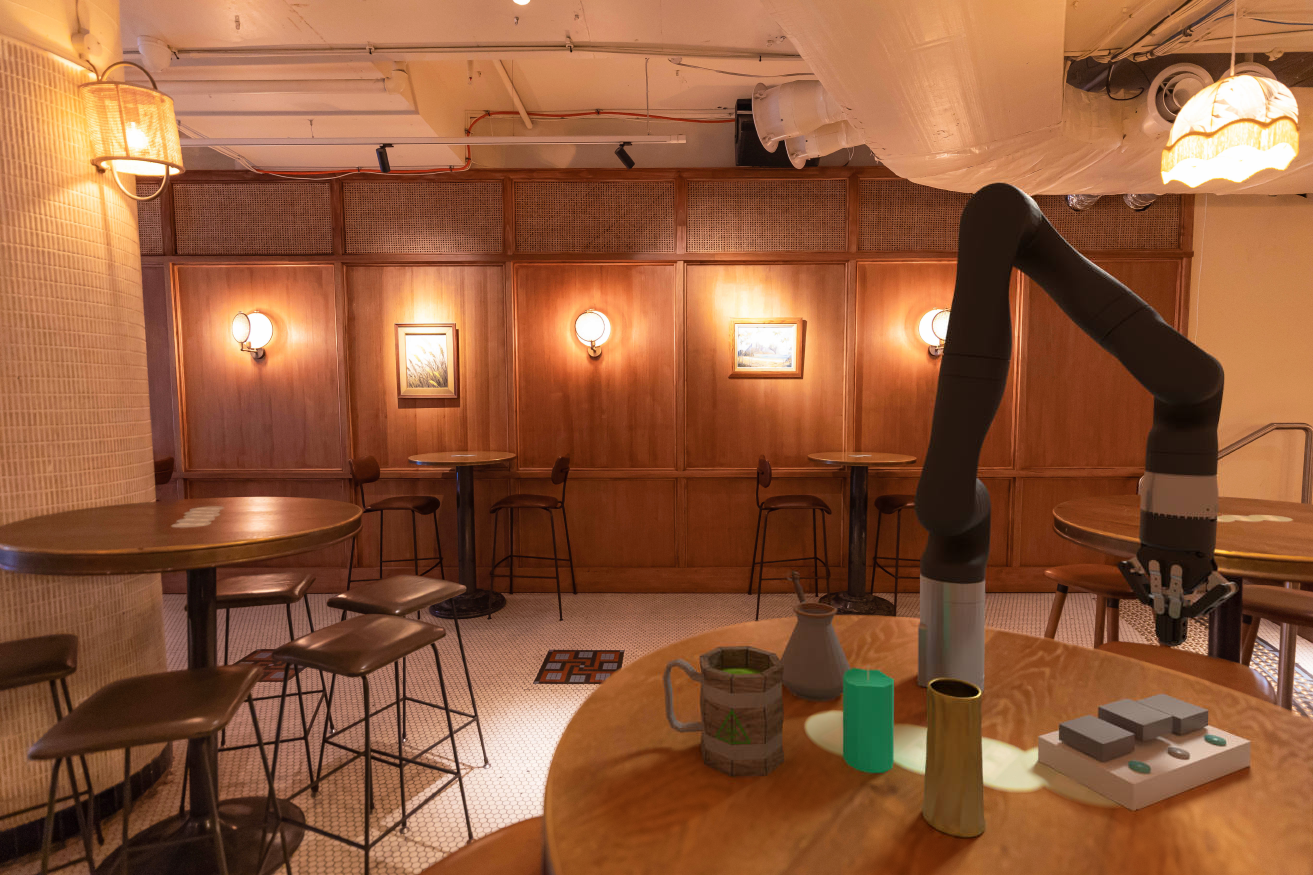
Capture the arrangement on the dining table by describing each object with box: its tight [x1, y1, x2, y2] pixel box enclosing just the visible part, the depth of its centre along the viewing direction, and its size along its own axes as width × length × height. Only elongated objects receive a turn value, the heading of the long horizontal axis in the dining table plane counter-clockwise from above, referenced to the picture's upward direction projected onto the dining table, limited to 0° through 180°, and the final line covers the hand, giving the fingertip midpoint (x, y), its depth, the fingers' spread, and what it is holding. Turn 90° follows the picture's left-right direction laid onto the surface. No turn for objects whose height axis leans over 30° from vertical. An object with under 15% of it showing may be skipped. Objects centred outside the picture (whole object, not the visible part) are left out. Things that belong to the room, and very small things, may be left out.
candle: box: [842, 664, 895, 774], centre depth 80 cm, size 6×6×12 cm
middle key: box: [1097, 697, 1173, 742], centre depth 79 cm, size 6×5×2 cm
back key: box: [1134, 693, 1209, 735], centre depth 82 cm, size 6×5×2 cm
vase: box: [921, 678, 986, 838], centre depth 68 cm, size 6×6×14 cm
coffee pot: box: [779, 570, 852, 702], centre depth 104 cm, size 21×12×15 cm, turn 0°
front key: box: [1058, 714, 1135, 761], centre depth 76 cm, size 6×5×2 cm
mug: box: [662, 645, 785, 778], centre depth 82 cm, size 16×11×12 cm
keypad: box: [1037, 724, 1252, 811], centre depth 78 cm, size 22×11×3 cm, turn 113°
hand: (1170, 643), depth 82 cm, fingers closed
